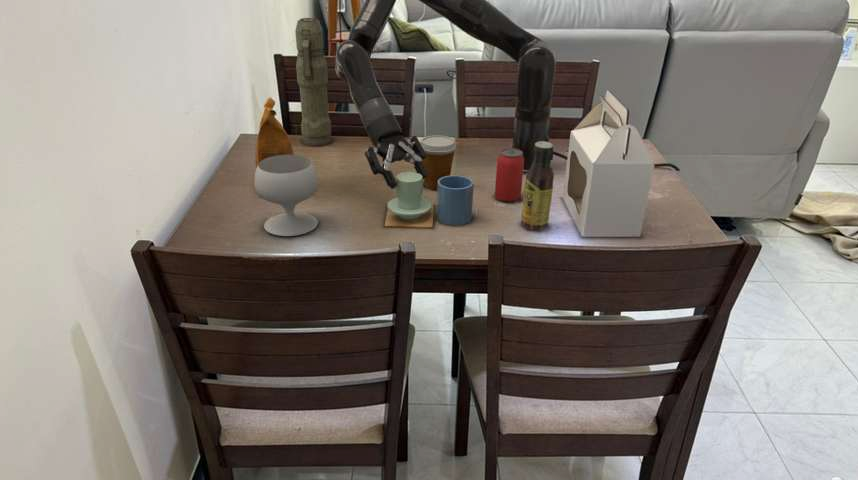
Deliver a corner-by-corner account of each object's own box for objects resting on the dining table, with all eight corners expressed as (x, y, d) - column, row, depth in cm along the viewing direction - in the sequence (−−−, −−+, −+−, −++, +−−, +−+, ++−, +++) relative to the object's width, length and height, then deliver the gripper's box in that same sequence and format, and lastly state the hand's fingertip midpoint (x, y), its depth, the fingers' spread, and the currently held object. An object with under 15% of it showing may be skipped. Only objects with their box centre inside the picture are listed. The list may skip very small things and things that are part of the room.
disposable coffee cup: (451, 193, 171) (453, 148, 165) (415, 190, 173) (415, 145, 166) (457, 179, 179) (459, 136, 173) (422, 176, 181) (423, 133, 175)
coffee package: (297, 177, 180) (289, 94, 168) (297, 195, 169) (289, 109, 158) (259, 179, 178) (249, 96, 167) (257, 198, 168) (246, 111, 156)
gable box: (561, 197, 169) (576, 85, 155) (613, 197, 170) (632, 86, 155) (582, 237, 150) (600, 114, 136) (640, 237, 151) (665, 114, 136)
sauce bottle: (518, 220, 158) (525, 138, 148) (544, 219, 158) (553, 138, 148) (524, 232, 152) (532, 148, 142) (551, 232, 153) (561, 148, 143)
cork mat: (433, 206, 164) (433, 205, 164) (432, 228, 154) (432, 226, 154) (388, 205, 165) (388, 203, 164) (384, 227, 154) (384, 225, 154)
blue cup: (471, 210, 162) (472, 175, 158) (472, 225, 155) (473, 189, 151) (437, 209, 163) (438, 174, 158) (436, 224, 156) (437, 188, 151)
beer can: (523, 194, 171) (527, 149, 165) (517, 204, 166) (521, 158, 160) (497, 190, 173) (501, 146, 167) (491, 200, 168) (494, 154, 161)
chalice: (324, 236, 150) (319, 173, 142) (260, 242, 147) (252, 178, 140) (319, 210, 162) (314, 150, 154) (259, 215, 159) (252, 154, 151)
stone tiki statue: (300, 148, 199) (289, 23, 181) (304, 135, 209) (294, 15, 191) (330, 147, 200) (322, 23, 182) (333, 134, 210) (325, 15, 192)
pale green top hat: (431, 206, 164) (432, 168, 159) (430, 224, 155) (431, 186, 150) (389, 205, 164) (388, 167, 159) (385, 223, 155) (385, 185, 150)
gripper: (397, 124, 164) (426, 182, 162) (348, 135, 156) (377, 197, 155) (410, 108, 158) (440, 168, 156) (360, 119, 150) (391, 182, 148)
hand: (409, 182), depth 155 cm, fingers open, 8 cm apart
